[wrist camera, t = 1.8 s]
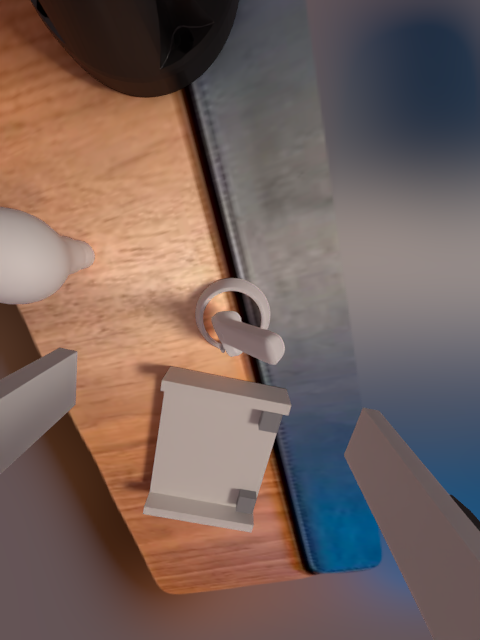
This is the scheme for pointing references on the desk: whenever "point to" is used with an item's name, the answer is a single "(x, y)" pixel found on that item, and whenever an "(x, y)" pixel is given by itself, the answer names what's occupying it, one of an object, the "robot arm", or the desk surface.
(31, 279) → the lightbulb
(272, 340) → the hook
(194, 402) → the panel
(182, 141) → the desk surface
